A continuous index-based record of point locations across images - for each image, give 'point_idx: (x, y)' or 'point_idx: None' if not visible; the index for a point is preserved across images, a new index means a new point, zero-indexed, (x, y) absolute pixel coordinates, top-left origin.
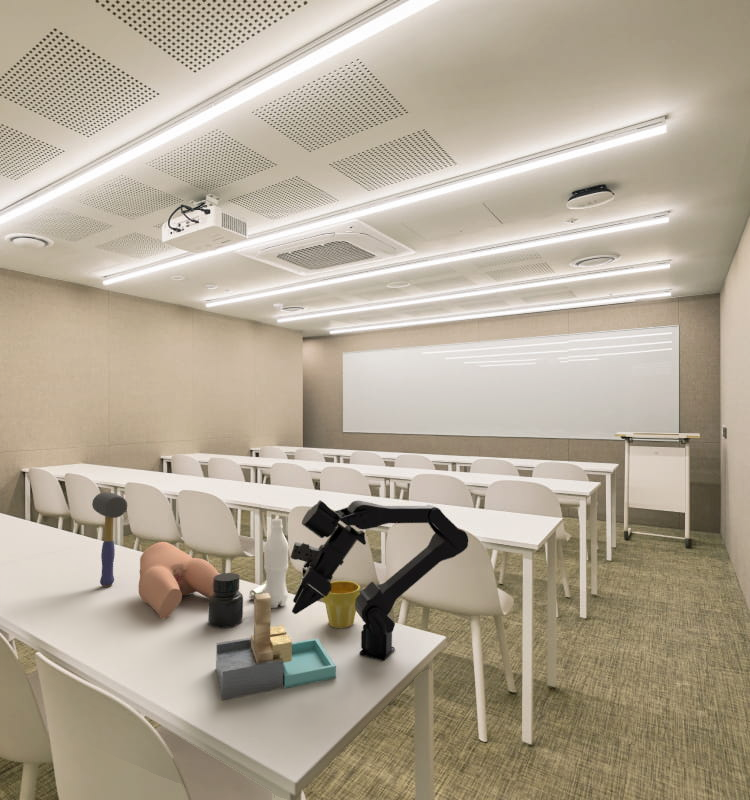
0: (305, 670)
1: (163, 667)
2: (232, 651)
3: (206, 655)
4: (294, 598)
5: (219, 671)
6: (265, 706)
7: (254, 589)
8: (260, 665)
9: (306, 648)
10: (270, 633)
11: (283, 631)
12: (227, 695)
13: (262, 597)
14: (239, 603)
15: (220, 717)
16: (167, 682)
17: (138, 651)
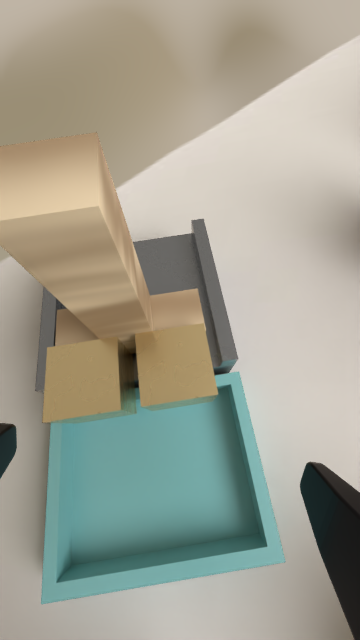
0: (56, 469)
1: (224, 182)
2: (185, 264)
3: (263, 238)
4: (319, 477)
5: None
6: (18, 357)
7: None
8: (41, 324)
9: (252, 497)
10: (148, 341)
11: (153, 394)
12: None
13: (16, 173)
14: None
15: (24, 280)
16: (169, 195)
17: (291, 142)
